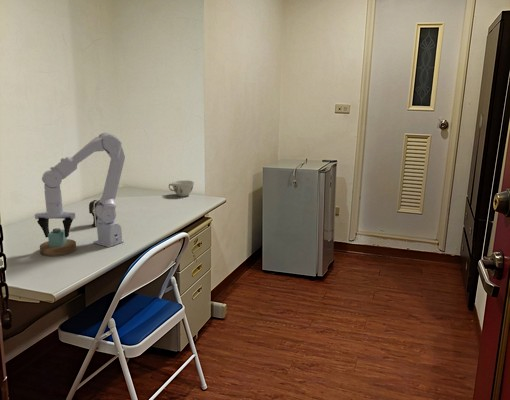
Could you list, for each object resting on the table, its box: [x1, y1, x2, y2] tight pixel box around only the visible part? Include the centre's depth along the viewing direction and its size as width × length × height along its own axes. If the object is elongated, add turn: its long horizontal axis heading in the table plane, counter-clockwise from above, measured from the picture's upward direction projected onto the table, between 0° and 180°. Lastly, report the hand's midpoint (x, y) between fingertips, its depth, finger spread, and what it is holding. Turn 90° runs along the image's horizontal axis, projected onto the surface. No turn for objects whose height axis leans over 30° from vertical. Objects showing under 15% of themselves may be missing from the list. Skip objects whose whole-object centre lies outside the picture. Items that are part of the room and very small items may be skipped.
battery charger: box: [88, 199, 100, 228], centre depth 217 cm, size 7×4×11 cm, turn 176°
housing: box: [47, 227, 68, 247], centre depth 183 cm, size 4×6×6 cm
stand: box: [39, 238, 77, 257], centre depth 184 cm, size 13×13×2 cm
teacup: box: [168, 180, 195, 198], centre depth 276 cm, size 15×12×8 cm
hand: (57, 236), depth 183 cm, fingers open, 7 cm apart
